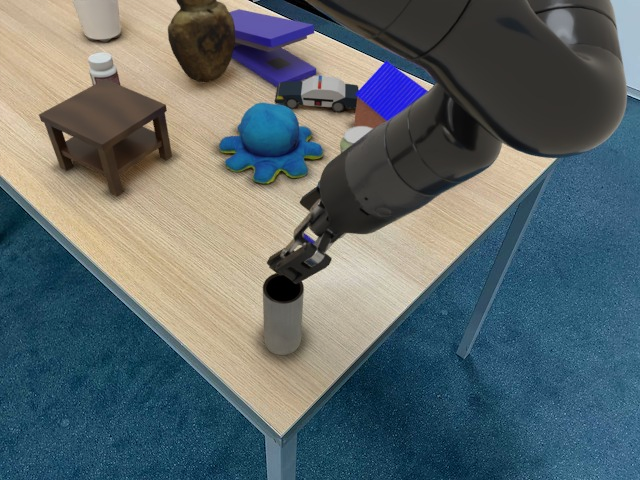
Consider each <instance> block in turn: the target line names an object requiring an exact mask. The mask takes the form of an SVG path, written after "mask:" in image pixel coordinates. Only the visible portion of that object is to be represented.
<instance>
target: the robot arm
mask: <svg viewBox="0 0 640 480" xmlns="http://www.w3.org/2000/svg"><path fill="white" fill-rule="evenodd" d="M304 1H305V2H306V3H308V4H309V5H311V6H312V7H313V8H315V9H316V10H317V11H318V12H320V13H322V14H323V15H324V16H326V17H328V18H330V19H331V20H332V21H334V22H336V23H337V24H339V25H340V26H341V27H344V28H345V29H347V30H349V31H350V32H352V33H354V34H356V35H358V36H359V37H361V38H363V39H365V40H367V41H369V42H371V43H373V44H375V45H376V46H378V47H380V48H382V49H384V50H385V51H387V52H390V53H391V54H393V55H395V56H397V57H399V58H401V59H403V60H404V61H407V62H409V63H411V64H412V65H415V66H417V67H419V68H421V69H422V70H424V72H426V73H427V75H428V76H430V77H431V79H432V80H433V81H434V82H435V83H434V84H433V86H432V87H431V88H430V89H429V90H427V91H428V92H427V93H425V94H424V95H423V96H421V97H420V98H418V99H417V100H415V101H414V102H413V103H411V104H410V105H409V106H407V107H406V108H405V109H403V110H402V111H401V112H399V113H398V114H397V115H395V116H394V117H393V118H391V119H390V120H388V121H386V122H384V123H382V124H380V125H378V126H376V127H375V128H373V129H372V130H371V131H369V132H368V133H367V134H365V135H364V136H363V137H361V138H360V139H359V140H357V141H356V142H355V143H354V144H352V145H351V146H350V147H348V148H347V149H346V150H344V151H343V152H342V153H341V152H340V153H339V154H338V155H336V156H335V157H334V158H333V159H331V160H330V161H329V162H328V163H327V164H326V166H324V168H323V170H322V172H321V175H320V179H319V180H318V182H317V184H316V186H315V187H314V188H312V189H311V190H310V191H309V192H306V194H304V195H303V196H302V197H301V199H300V200H299V205H301V207H303V208H304V209H306V210H307V211H309V213H308V214H307V215H306V216H305V218H303V220H302V221H300V222H299V224H298V225H297V226H296V227H295V228H294V230H293V236H292V237H293V238H292V239H291V240H290V241H289V243H288V244H287V245H286V246H285V247H283V248H282V249H280V250H279V251H276V252H274V253H273V254H272V255H270V256H269V257H268V259H267V261H266V264H267V266H268V268H269V269H270V270H271V271H273V272H274V273H277V274H279V275H285V276H286V277H287V278H289V279H290V280H292V282H294V283H295V284H297V283H299V282H301V281H302V282H303V281H304V280H307V279H308V278H310V277H312V276H314V275H316V274H318V273H319V272H322V271H323V270H324V269H327V267H329V266H330V265H331V262H332V259H333V257H332V256H330V255H328V254H327V253H326V252H327V251H328V250H329V249H330V248H331V247H332V246H333V245H334V244H335V243H336V242H337V241H338V240H340V239H343V238H344V237H345V235H346V234H352V235H353V234H355V235H369V234H373V233H375V232H377V231H379V230H381V229H383V228H386V227H387V226H388V225H391V224H393V223H395V222H396V221H398V220H401V219H402V218H405V217H406V216H409V215H410V214H412V213H414V212H416V211H418V210H420V209H421V208H423V207H425V206H426V205H429V203H431V202H432V201H433V200H435V199H436V198H437V197H439V196H440V195H442V194H444V193H446V192H448V191H450V190H452V189H454V188H456V187H457V186H459V185H461V184H463V183H466V182H467V181H469V180H470V179H472V178H475V177H476V176H477V175H480V174H481V173H483V172H485V171H486V170H488V169H489V168H490V167H491V166H492V165H493V164H494V163H495V161H496V160H497V159H498V157H499V155H500V153H501V150H502V147H503V145H505V146H507V147H508V148H511V149H513V150H515V151H517V152H520V153H523V154H524V155H525V154H526V155H529V156H533V157H539V158H547V159H563V158H570V157H576V156H579V155H583V154H586V153H588V152H590V151H592V150H594V149H596V148H597V147H599V146H601V145H602V144H603V143H605V142H606V141H607V140H608V139H609V138H610V137H611V136H612V135H613V134H614V132H615V131H616V130H617V129H618V127H619V126H620V124H621V122H622V120H623V119H624V115H625V112H626V109H627V104H628V103H627V102H628V85H627V80H626V73H625V67H624V62H623V57H622V51H621V46H620V45H621V44H620V39H619V34H618V33H619V32H618V26H617V20H616V14H615V10H614V6H613V3H612V1H611V0H304ZM307 229H309V230H310V231H311V232H312V233H313V234H314V235H315V236H316V237H317V238H316V240H315V239H313V238H312V237H310V236H309V235H308V234H306V233H305V232H306V230H307ZM298 246H301V247H298ZM297 247H298V249H296V248H297Z"/></svg>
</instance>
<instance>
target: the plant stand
mask: <svg viewBox="0 0 640 480" xmlns="http://www.w3.org/2000/svg"><path fill="white" fill-rule="evenodd" d="M167 111H168V109H167V104H166V103H163V102H161V101H158V100H156V99H153V98H152V97H149V96H147V95H145V94H142V93H139V92H137V91H135V90H132V89H130V88H128V87H126V86H123V85H121V84H120V85H118V84H116V83H113V82H111V81H109V80H106V79H104V80H102V81H100V82H99V83H97V84H95V85H93V84H92V85H90V86H89V87H87V88H86V89H84V90H82V91H80V92H78V93H76V94H75V95H73V96H71V97H69V98H67V99H65V100H63V101H61V102H60V103H57V104H55V105H54V106H52V107H50V108H49V109H46V110H45V111H43V112H41V113H39V114H38V117H39V120H40V122H42V123H44V126H45V129H46V132H47V134H48V137H49V140H50V143H51V146H52V148H53V151H54V155H55V157H56V160H57V163H58V165H59V168H60V169H62V170H64V171H65V172H66V171H69V170H71V169H72V168H74V166H75V165H74V163H73V161H74V162H76V163H77V164H79V165H81V166H84V167H85V168H88V169H90V170H92V171H93V172H96V173H97V174H99V175H102V176H103V177H105V180H106V184H107V187H108V191H109V194H110V195H112V196H114V197H119V196H121V194H123V193H124V192H125V191H124V187H123V183H122V179H121V175H123V174H124V173H125V172H127V171H129V170H130V169H131V168H132V167H134V166H135V165H137V164H138V163H140V162H142V161H143V160H144V159H145V158H147V157H149V156H150V155H151V154H153V153H154V152H155V151H158V156H159V158H160V159H161V160H164V161H167V162H168V160H170V159H172V157H173V153H172V152H173V151H172V147H171V141H170V135H169V130H168V123H167V118H166V112H167ZM151 122H152V124H153V129H154V130H152V129H150V128H147V127H145V126H146V125H147V124H149V123H151ZM64 134H67V135H69V136H71V137H70V138H69V139H67V140H66V139H65V136H64Z"/></svg>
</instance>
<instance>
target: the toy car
mask: <svg viewBox="0 0 640 480" xmlns="http://www.w3.org/2000/svg"><path fill="white" fill-rule="evenodd" d="M359 90H360V89H359V85H358V84H352V83H345V82H344V81H343V80H342V79H340V78H339V77H335V76H330V75H321V74H319V75H313V76H310V77H308V78H306V79H304V80H301V81H288V82H280V84H279V86H277V87H276V90H275V95H274V96H275V97H274V103H275V104H277V105H285V106H286V107H288V108H290V109H291V110H294V109H297V108H298V106H309V107H322V108H324V107H325V108H331V109H332V111H334V112H335V113H341V112H342V111H344V109H356V105H357V96H356V95H355V94H356V93H357V92H358V91H359Z"/></svg>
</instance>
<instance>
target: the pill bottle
mask: <svg viewBox="0 0 640 480" xmlns="http://www.w3.org/2000/svg"><path fill="white" fill-rule="evenodd" d="M87 60H88V64H89V69H88V74H89V76H90V79H91V84H92V86H93V85H95V84H97V83H99V82H100V81H102V80H104V79H106V80H109V81H111V82H113V83H116V84H118V85H121V81H120V76H119V72H118V67H117V66H116V64H114V59H113V56H112V54H110V53H108V52H103V51H102V52H95V53H92V54H91V55H89V56H88V58H87Z"/></svg>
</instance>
